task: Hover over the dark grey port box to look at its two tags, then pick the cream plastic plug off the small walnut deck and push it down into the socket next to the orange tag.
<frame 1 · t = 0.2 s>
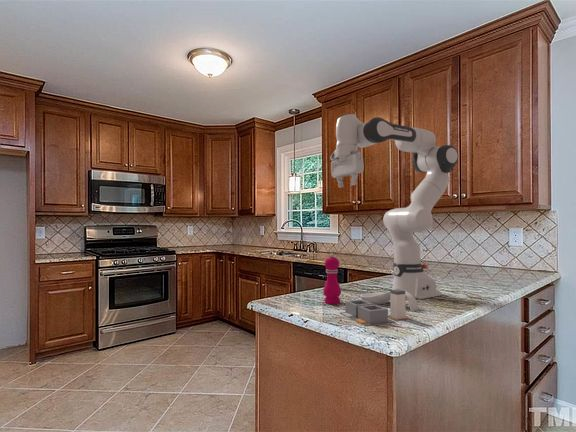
hand: (346, 186, 147), 48 cm above the worktop, tool pointing down, fingers open, 8 cm apart
plug: (398, 317, 118), point 1 cm above the worktop, touching deck
grey curved arch: (388, 307, 137), on the worktop
pepper mill: (332, 302, 143), on the worktop
port box: (365, 320, 118), on the worktop
deck: (398, 319, 118), on the worktop
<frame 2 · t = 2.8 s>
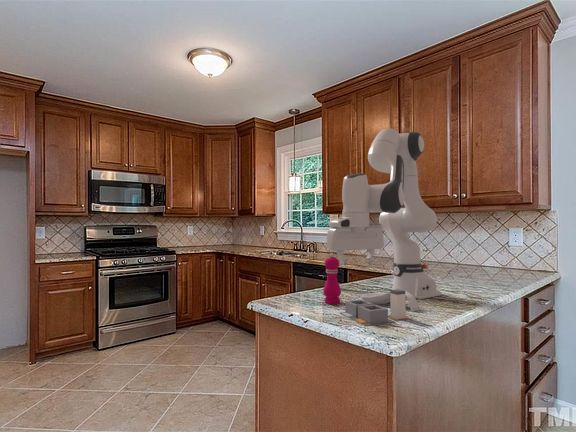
hand: (356, 263, 117), 19 cm above the worktop, tool pointing down, fingers open, 8 cm apart
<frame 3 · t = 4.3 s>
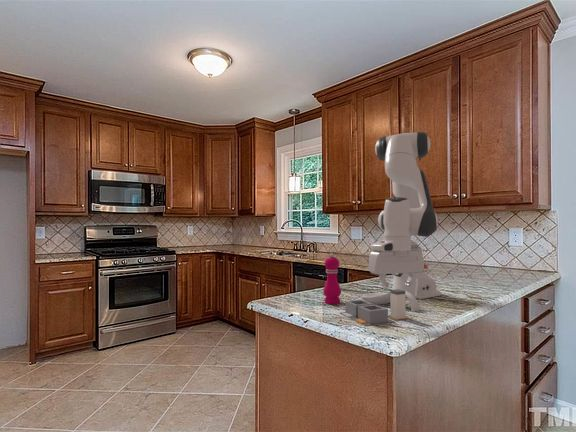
hand: (397, 286, 117), 11 cm above the worktop, tool pointing down, fingers open, 8 cm apart
nothing on the worktop moved.
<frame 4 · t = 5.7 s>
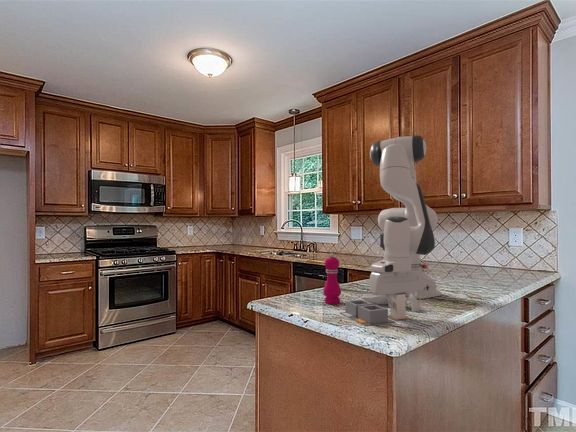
hand: (397, 306, 118), 4 cm above the worktop, tool pointing down, fingers closed on plug, 3 cm apart
plug: (398, 317, 118), point 1 cm above the worktop, touching deck, gripper
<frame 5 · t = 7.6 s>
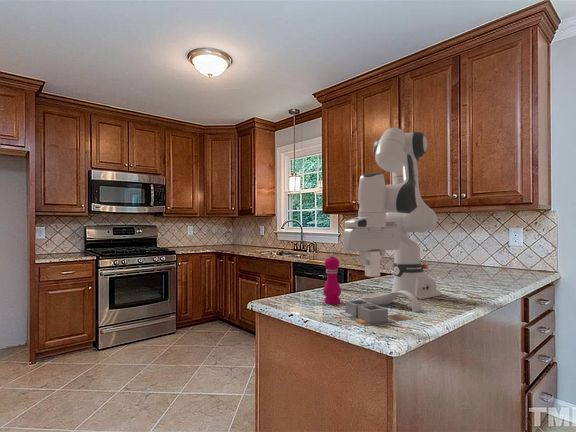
hand: (372, 264, 114), 19 cm above the worktop, tool pointing down, fingers closed on plug, 3 cm apart
plug: (372, 275, 114), point 15 cm above the worktop, touching gripper
when the fingers open (6 cm above the worktop, at t = 9.7 s): plug drops 1 cm, resting on port box.
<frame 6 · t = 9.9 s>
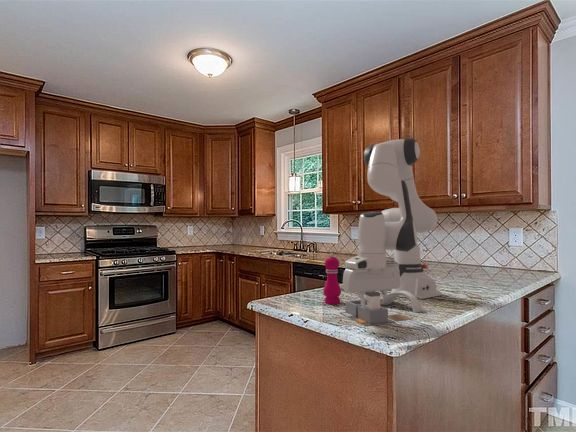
hand: (372, 304, 114), 6 cm above the worktop, tool pointing down, fingers open, 5 cm apart
plug: (372, 320, 114), point 1 cm above the worktop, touching port box
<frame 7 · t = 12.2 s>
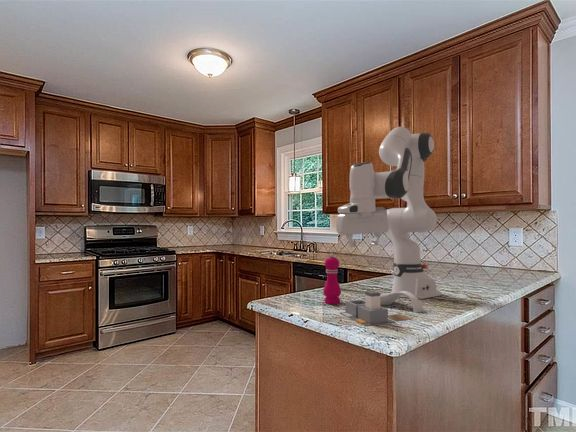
hand: (363, 246, 126), 24 cm above the worktop, tool pointing down, fingers open, 8 cm apart
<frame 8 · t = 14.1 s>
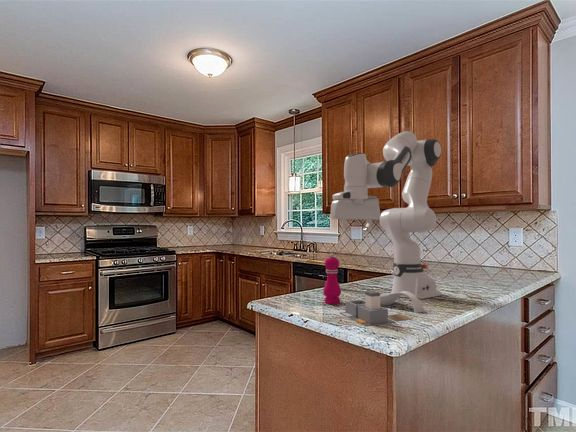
hand: (356, 231, 134), 29 cm above the worktop, tool pointing down, fingers open, 8 cm apart
at the end: plug 0.0 cm from the target spot on the port box, point 1.0 cm above the port box's base; plug tilted 0°; the gripper is holding nothing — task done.
